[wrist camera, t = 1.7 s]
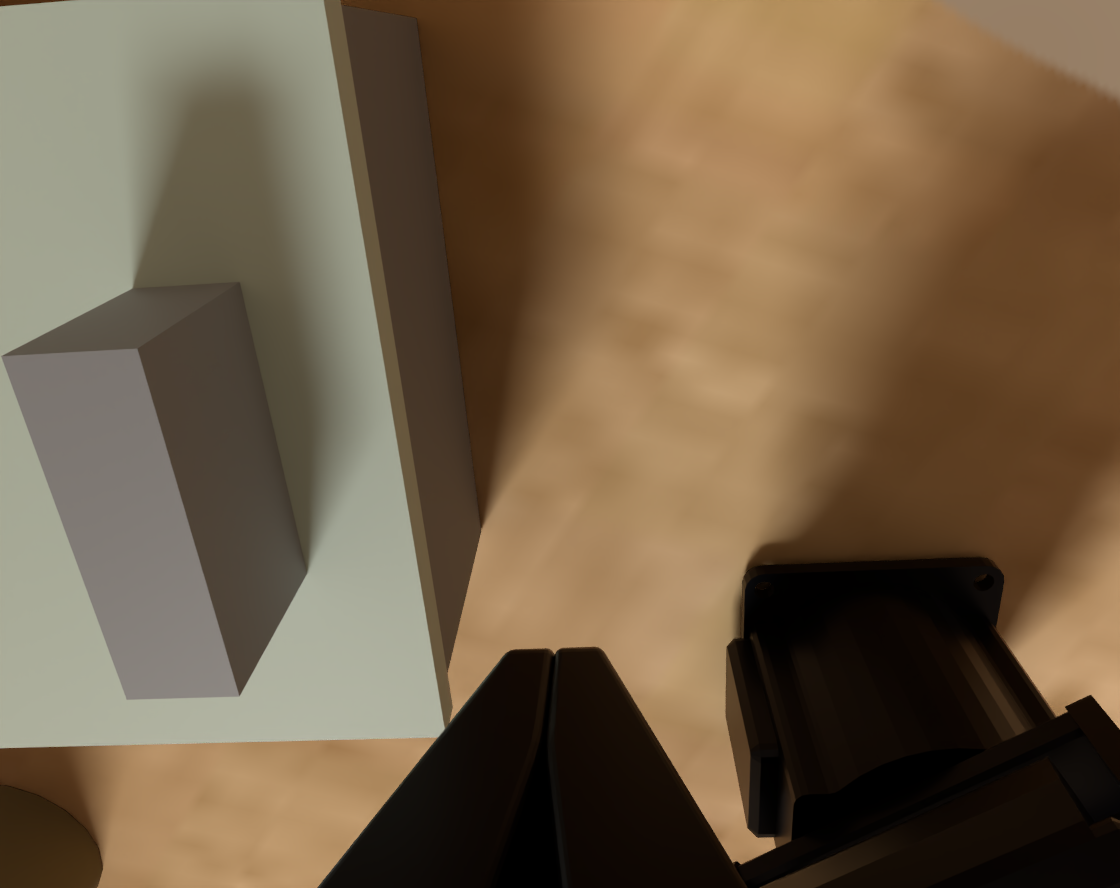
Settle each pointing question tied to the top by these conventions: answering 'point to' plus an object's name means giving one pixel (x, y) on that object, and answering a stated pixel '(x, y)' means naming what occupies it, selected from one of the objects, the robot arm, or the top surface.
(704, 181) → the top surface
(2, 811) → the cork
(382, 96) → the tray
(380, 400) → the sliding box lid
